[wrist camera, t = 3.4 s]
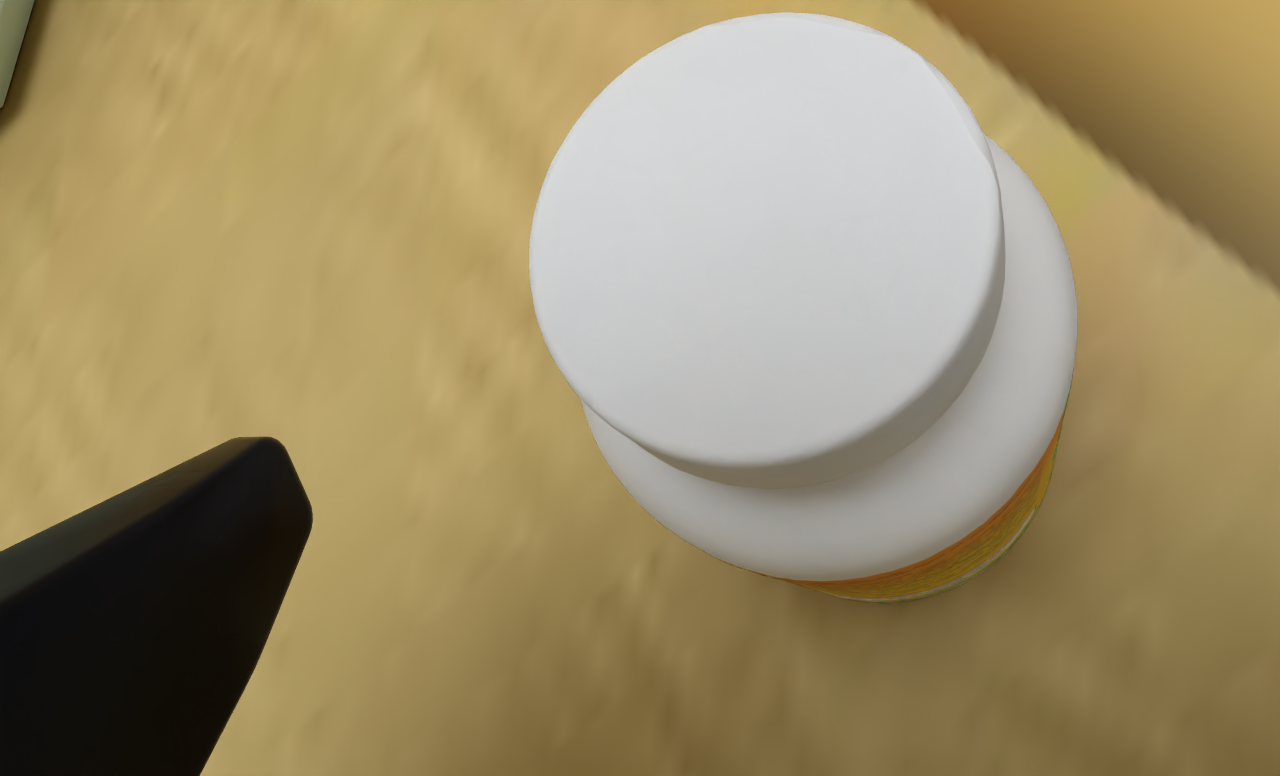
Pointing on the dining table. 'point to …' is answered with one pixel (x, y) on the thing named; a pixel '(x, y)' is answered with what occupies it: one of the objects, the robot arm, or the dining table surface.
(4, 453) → the dining table surface
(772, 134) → the supplement bottle
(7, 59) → the water bottle
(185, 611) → the robot arm
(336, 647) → the dining table surface
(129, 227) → the dining table surface
